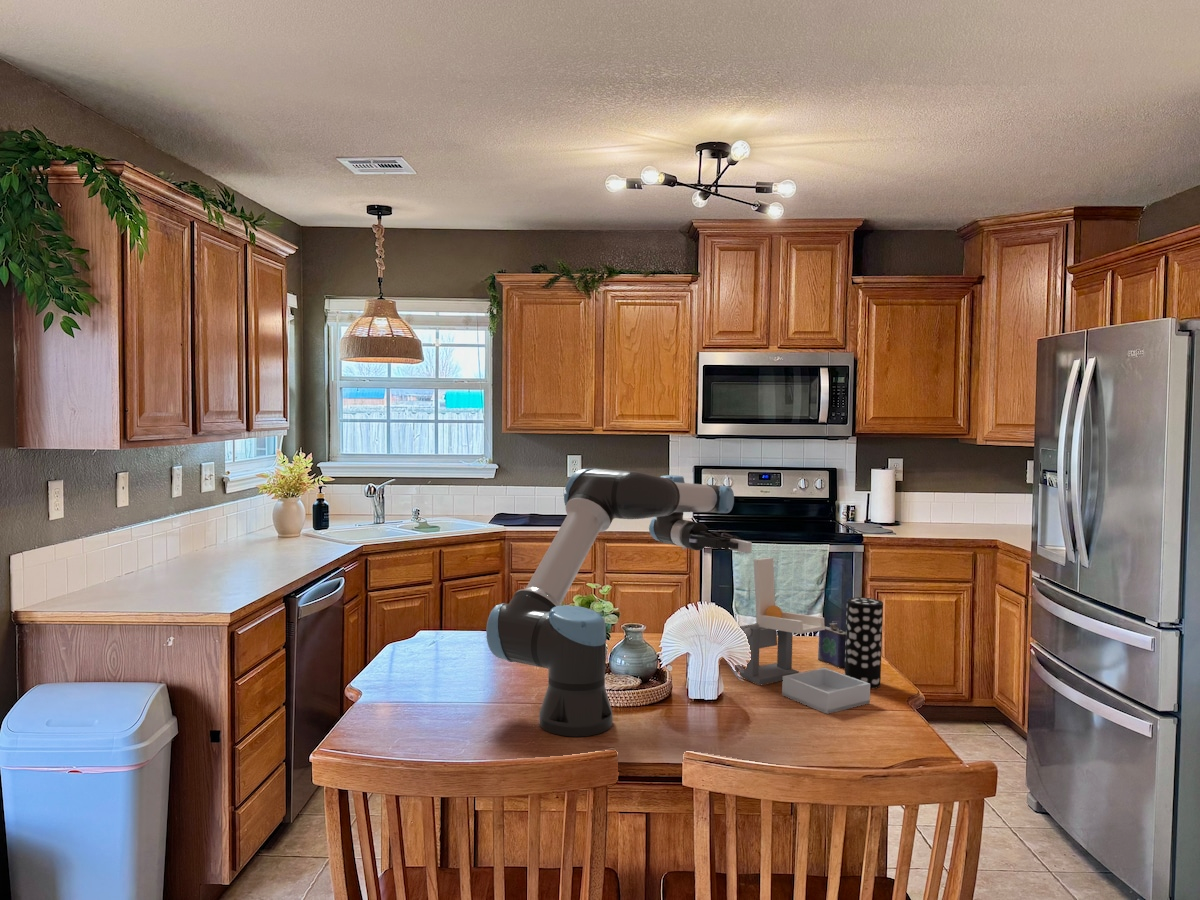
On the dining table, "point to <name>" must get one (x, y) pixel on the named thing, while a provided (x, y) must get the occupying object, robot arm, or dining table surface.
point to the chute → (767, 599)
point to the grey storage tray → (826, 690)
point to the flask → (832, 646)
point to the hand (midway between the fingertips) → (749, 547)
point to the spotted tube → (864, 640)
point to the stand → (771, 670)
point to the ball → (774, 611)
